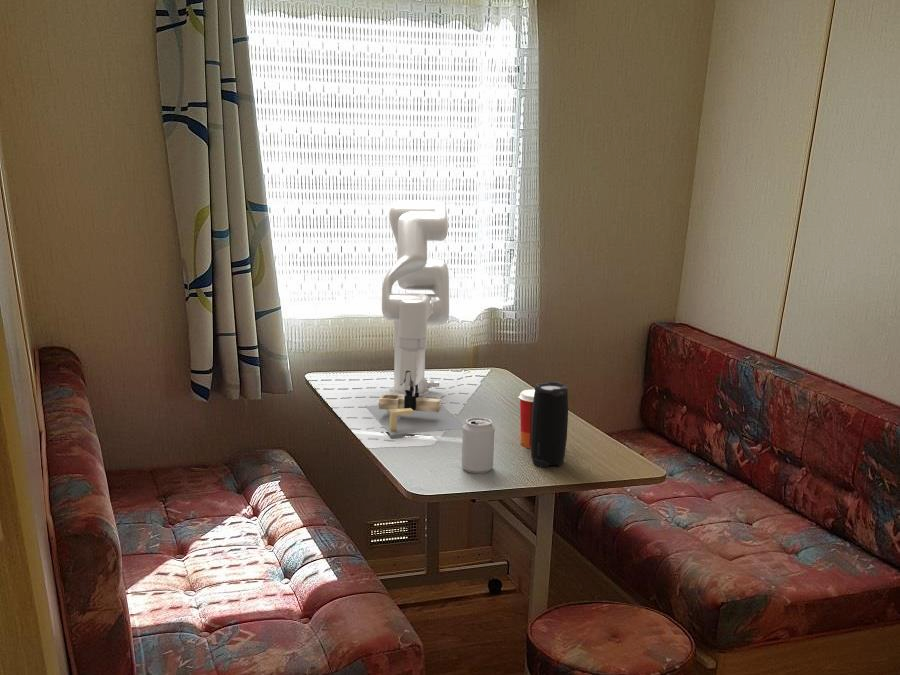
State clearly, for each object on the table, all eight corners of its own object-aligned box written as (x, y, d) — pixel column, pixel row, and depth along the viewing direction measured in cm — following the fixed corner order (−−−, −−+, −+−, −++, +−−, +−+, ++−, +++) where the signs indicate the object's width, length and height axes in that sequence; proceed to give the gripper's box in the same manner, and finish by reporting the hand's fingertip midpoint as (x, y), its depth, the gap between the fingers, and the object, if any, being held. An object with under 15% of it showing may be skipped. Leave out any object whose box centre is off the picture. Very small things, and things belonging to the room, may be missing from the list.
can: (460, 463, 196) (461, 415, 193) (490, 463, 197) (492, 415, 194) (463, 474, 189) (464, 425, 186) (495, 474, 189) (497, 425, 187)
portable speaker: (550, 454, 204) (554, 378, 200) (573, 466, 196) (578, 388, 192) (521, 459, 200) (525, 382, 196) (543, 471, 192) (548, 391, 188)
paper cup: (549, 442, 213) (552, 390, 210) (543, 451, 206) (545, 398, 203) (520, 438, 215) (522, 387, 212) (513, 447, 208) (515, 394, 205)
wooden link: (378, 409, 226) (378, 398, 225) (383, 403, 231) (383, 393, 230) (437, 413, 223) (438, 403, 222) (441, 408, 228) (441, 398, 228)
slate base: (436, 403, 245) (436, 383, 244) (469, 431, 220) (469, 409, 219) (365, 409, 237) (365, 388, 236) (390, 438, 213) (391, 415, 211)
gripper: (405, 337, 232) (404, 399, 235) (392, 348, 216) (391, 415, 220) (431, 338, 231) (430, 401, 234) (419, 350, 215) (418, 417, 218)
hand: (411, 407), depth 227 cm, fingers closed on wooden link, 3 cm apart
